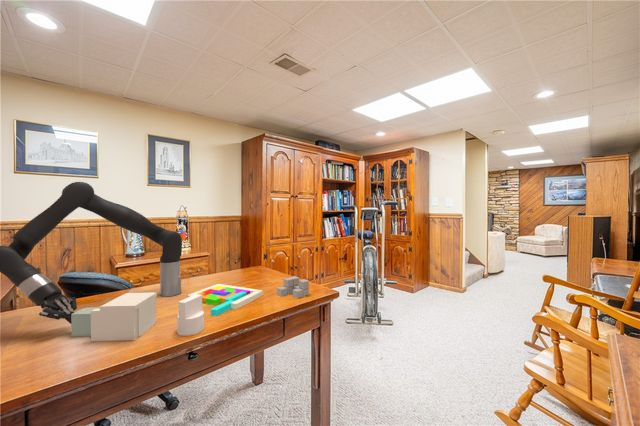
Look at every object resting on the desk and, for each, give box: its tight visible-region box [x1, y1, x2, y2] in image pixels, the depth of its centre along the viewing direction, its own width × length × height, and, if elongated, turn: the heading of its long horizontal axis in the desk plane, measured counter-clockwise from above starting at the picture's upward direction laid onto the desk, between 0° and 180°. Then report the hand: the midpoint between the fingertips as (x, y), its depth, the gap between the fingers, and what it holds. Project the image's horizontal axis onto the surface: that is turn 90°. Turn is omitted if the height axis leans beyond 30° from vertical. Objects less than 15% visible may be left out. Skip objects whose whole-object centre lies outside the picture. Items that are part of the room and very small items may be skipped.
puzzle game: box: [186, 283, 264, 317], centre depth 131 cm, size 30×3×30 cm
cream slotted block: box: [90, 292, 158, 342], centre depth 98 cm, size 14×14×12 cm
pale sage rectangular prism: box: [70, 306, 100, 338], centre depth 97 cm, size 12×6×8 cm, turn 94°
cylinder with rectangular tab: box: [176, 294, 205, 337], centre depth 100 cm, size 9×9×12 cm
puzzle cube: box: [276, 275, 310, 299], centre depth 140 cm, size 12×12×8 cm
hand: (77, 322), depth 97 cm, fingers closed
